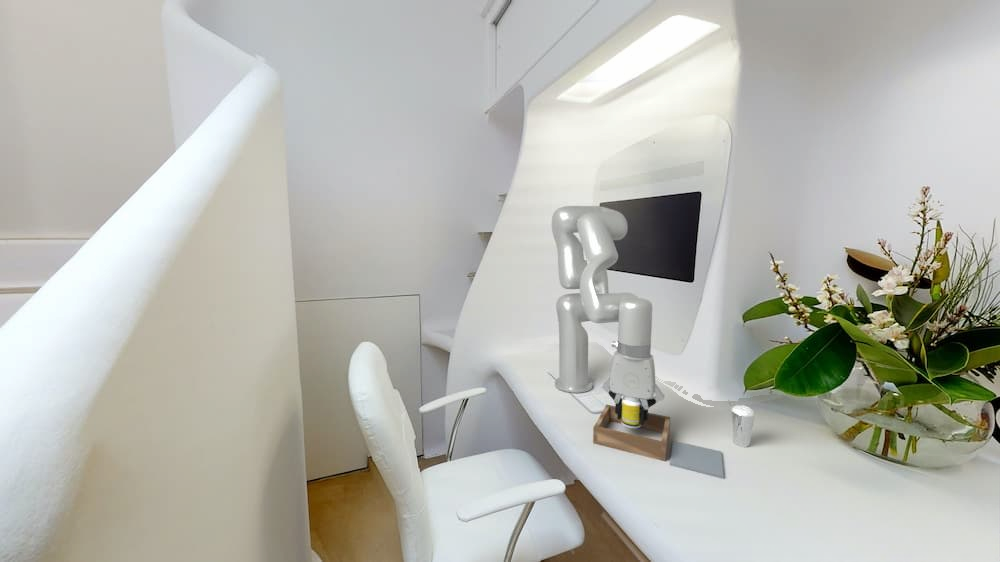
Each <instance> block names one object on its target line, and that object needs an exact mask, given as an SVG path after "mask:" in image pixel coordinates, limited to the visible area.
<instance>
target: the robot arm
mask: <svg viewBox="0 0 1000 562" xmlns="http://www.w3.org/2000/svg"><path fill="white" fill-rule="evenodd" d="M628 227H629V226H628V221H627V218H626V217H625V216H624V214H623V213H622V212H620V211H618V210H615V209H611V208H609V207H606V206H598V205H596V206H595V205H594V206H593V205H567V206H562V207H559V208H557V209H556V210H555V211H554V212H553V214H552V217H551V231H552V235H553V239H554V242H555V244H556V249H557V250H556V251H557V262H558V263H557V265H558V267H557V268H558V278H559V279H558V280H559V284H560V285H561V287H562V288H563V289H566V290H579V292H576V293H566V294H563V295H561V296H559V297H558V298H557V301H556V305H555V306H556V315H557V321H558V337H559V338H558V341H559V346H558V347H559V348H558V349H559V353H558V354H559V355H558V356H559V357H558V358H559V359H558V360H559V366H558V367H559V369H558V371H559V373H558V374H559V375H558V377H557V378H556V379H555V380H554V386H555V387H556V388H557V389H558V390H560V391H562V392H565V393H572V394H573V393H574V394H580V393H581V394H582V393H586V392H589V391H591V390H592V389H593V384H594V383H593V382H592V380H590V379H589V334H588V331H587V329H585V327H584V326H583V325H582V323H584V322H592V323H595V324H606V323H607V324H609V323H618V329H617V341H611V347H612V348H615V349H616V351H614V352H613V356H612V361H611V369H610V376H609V378H608V379H607V380H606V381H605V382H604V383H603V384H602V386H601V387H602V389H603V391H606V393H607V394H608V395H609V396H610V397H611V399H612V400H613V403H615V405H614V406H615V414H617V419H621V411H622V398H623V397H624V396H629V397H634V398H640V400H641V401H642V408H641V418H640V424H642V425H643V424H644V421H645V420H647V419H648V413H649V408H651V407H653V406H654V405H656V404H657V403H659V402H663V400H664V399H665V394H664V393H663V392H662V390H661V389H660V387H659V386H658V384H657V383H656V368H655V361H654V356H653V355H652V353H651V352H652V351H651V348H652V327H653V325H652V323H653V304H652V302H651V301H650V300H648V299H646V298H642V297H641V298H640V297H639V296H637V295H636V294H634V293H631V292H611V293H609V292H610V291H609V279H608V278H609V277H608V272H607V269H609V268H610V267H612V266H613V265H615V264H616V263H617V261H619V260H618V259H619V253H618V251H617V247H616V245H615V243H614V241H620V240H622V239H624V238H625V237H626V235H627V233H628ZM575 233H578V236H579V238H580V239H579V238H578V237H577V235H575ZM584 256H585V257H584ZM623 395H624V396H623ZM654 395H655V396H654ZM622 396H623V397H622Z"/></svg>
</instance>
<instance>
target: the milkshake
mask: <svg viewBox="0 0 1000 562" xmlns="http://www.w3.org/2000/svg"><path fill="white" fill-rule="evenodd" d="M727 401H728V402H729V403H728V404H729V405H730V408H731V419H732V441H733V444H735V445H736V446H738V447H742V448H748V447H750V443H751V438H752V431H753V426H754V424H753V423H754V420H755V412H754V410H753V409H752V408H751V407H750V406H746V405H744V404H743V405H739V404H738V405H735V406H732V404H731V401H730V400H729V399H728V400H727Z"/></svg>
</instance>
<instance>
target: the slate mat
mask: <svg viewBox="0 0 1000 562" xmlns="http://www.w3.org/2000/svg"><path fill="white" fill-rule="evenodd" d="M722 454H723V453H722V451H721V450H717V449H713V448H708V447H703V446H699V445H695V444H689V443H686V442H681V441H675V440H672V446H671V453H670V458H669V459H670V460H669V465H670V466H673V467H677V468H681V469H684V470H689V471H692V472H696V473H700V474H704V475H709V476H712V477H717V478H720V479H724V478H725V476H724V466H723V455H722Z"/></svg>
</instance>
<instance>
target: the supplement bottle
mask: <svg viewBox="0 0 1000 562" xmlns="http://www.w3.org/2000/svg"><path fill="white" fill-rule="evenodd" d="M622 396H623V397H621V398H622V411H621V423H620V424H622V425H623V427H626V428H628V429H638V428H639V429H640V426H641V424H640V418H641V408H642V405H643V404H642V400H641V399H640V398H634V397H629V396H624V395H622Z"/></svg>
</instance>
